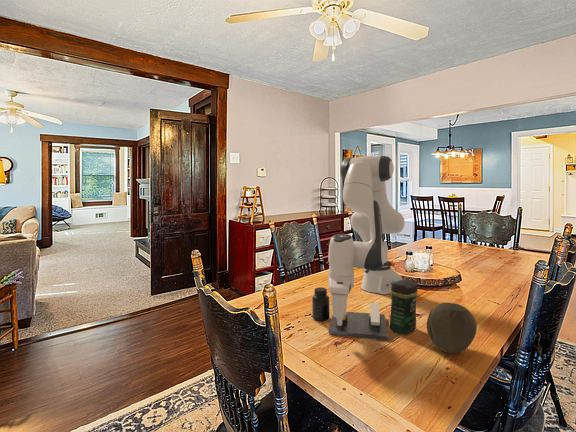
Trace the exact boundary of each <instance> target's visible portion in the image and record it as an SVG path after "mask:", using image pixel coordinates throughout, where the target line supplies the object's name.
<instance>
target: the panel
mask: <svg viewBox="0 0 576 432" xmlns="http://www.w3.org/2000/svg"><path fill="white" fill-rule="evenodd" d="M346 313H348V315H346V318H345V320H342V326H338V325H337V318H336V317H334V316H333V314H331V315H332V317H331V321H330V324H329V329H328V335H329V336H335V337H336V336H337V337H347V338H348V337H349V338H360V339H369V340H370V339H371V340H380V341H388V339H389V337H388V336H389V335H388V330H387V329H388V328H387V323H386V315H385V314H384V313H383V314H381V313H379V315H381V318H380V326H378V325H371V317H369V314H371V312H370V313H368V312H357V311H356V312H355V311H346Z"/></svg>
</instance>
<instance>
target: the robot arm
mask: <svg viewBox="0 0 576 432" xmlns="http://www.w3.org/2000/svg"><path fill="white" fill-rule="evenodd" d="M394 168H395V167H394V163H393V160H392V159H391V158H390V156H386V155H381V156H380V155H366V156H357V157H347V158H344V159H343V160H342V162H341V164H340V170H339V171H340V176H341V178H342V179H343V181H344V183H343V188H342V201H343V203H344V204H345V206H346V207H347V208H348V209H350V210H351V211H353V213H352V215H351V216H350V219H349V220H350V222H349V223H350V226H351V228H352V229H353V230H354V231H355V232H356V233H357V234H358V236H360V238H361V240H362V241H358V240H357V241H356V240H354V239H353V236H352V235H351V234H348V233H337V234H334V235H332V236H331V237H330V240H329V245H328V255H327V256H328V257H327V258H328V259H327V261H328V263H329V264H328V265H329V268H328V272H327V273H328V275H327V285H328V288H329V289H328V291H329V293H330V294H331V295H330V296H331V297H330V298H331V299H330V300H331V309H332V310H331V311H332V315H333V316H334V317H336V318H337V325H338V326H342V319H343V318H344V316H345V310H346V311H347V308H346V303H347V304H348V302H347V301H348V297H349V294H350V293H351V291H352V289H353V288H354V287H355V271H354V270H355V269H363V277H362V280H361V281H362V282H361V285H360V288H361V289H362V290H363V291H364V292H369V293H374V294H380V295H385V296H386V295H389V294H391V285H392V283H394V282H396V281H399V280H402V279H403V277H402V276H401V274H399V273H398V272H397V271H395V270H394V269H393V268H394V267H395V266H396V263H395V262H393V261H390V260H388V257H389V256H388V255H389V247H388V244H387V243H386V242H385V241H383V240H384V239H383V234H387V235H391V234H399V233H401V232H402V231H403V229H404V228H405V226H406V225H405V223H406V222H405V218H404V215H403V214H402V213H400V212H399V211H398V210H396V209H395V208H394V207H393V206H392V205H391V204H390V202H389V200H388V199H389V198H388V193H387V187H386V185H387V184H386V182H387V181H389V180H391V178H392V177H393V173H394V170H395V169H394ZM354 268H355V269H354Z"/></svg>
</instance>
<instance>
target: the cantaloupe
mask: <svg viewBox="0 0 576 432" xmlns="http://www.w3.org/2000/svg"><path fill="white" fill-rule="evenodd" d="M477 330H478V325H477V321H476V318H475V317H474V315H473V314H472V312H471V311H470V310H469V309H468V308H467V307H466V306H464V305H461V304H459V303H454V302H449V301H448V302H446V301H445V302H441V303H438V304H436V305H435V306H434V307H433V308H432V309H431V310H430V312H429V314H428V316H427V319H426V332H427V336H428V338H429V339H430V341H431V343H433V345H434V346H435V347H436V348H438V349H439V350H442V351H444V352H445V353H448V354H458V353H460V352H463V351H465V350H467V349H468V347H470V345H471V344H472V343H473V341H474V339H475V338H476V334H477Z"/></svg>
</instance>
